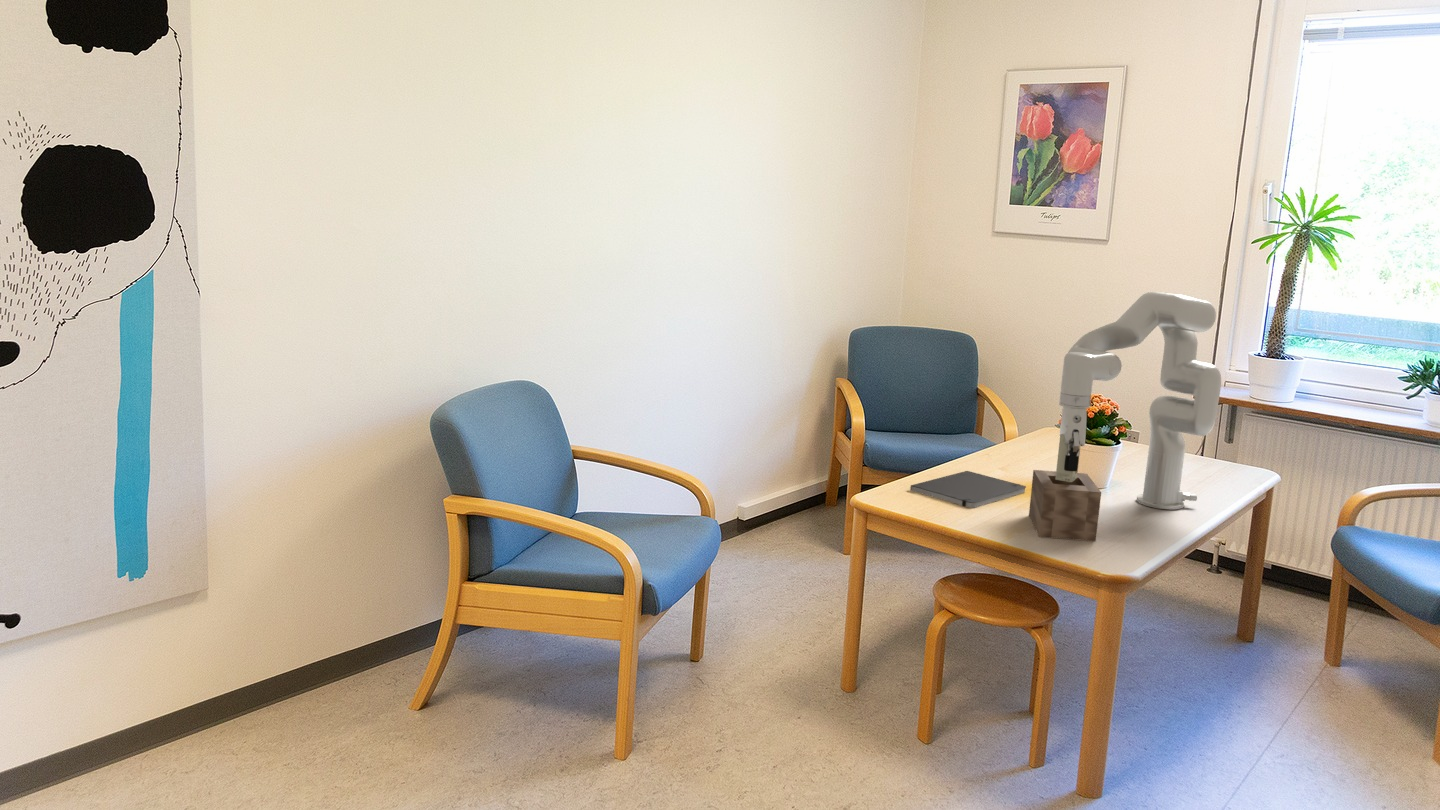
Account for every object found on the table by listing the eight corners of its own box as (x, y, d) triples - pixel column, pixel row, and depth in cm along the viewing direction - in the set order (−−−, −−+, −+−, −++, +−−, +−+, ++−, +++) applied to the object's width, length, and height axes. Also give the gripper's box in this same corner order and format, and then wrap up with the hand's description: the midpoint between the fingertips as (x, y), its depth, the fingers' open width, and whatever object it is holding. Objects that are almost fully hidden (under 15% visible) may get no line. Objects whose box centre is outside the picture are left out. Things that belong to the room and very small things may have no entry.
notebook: (966, 477, 320) (909, 492, 302) (966, 470, 320) (910, 484, 301) (1027, 493, 304) (972, 510, 286) (1028, 486, 304) (972, 502, 286)
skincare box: (1071, 483, 265) (1076, 437, 263) (1054, 480, 268) (1059, 434, 265) (1077, 477, 271) (1082, 432, 268) (1060, 475, 273) (1065, 430, 270)
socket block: (1081, 519, 280) (1086, 473, 277) (1095, 541, 262) (1101, 492, 260) (1028, 515, 282) (1033, 469, 279) (1039, 536, 264) (1044, 488, 261)
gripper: (1097, 408, 256) (1089, 476, 259) (1083, 395, 273) (1076, 459, 276) (1066, 406, 257) (1058, 474, 260) (1054, 393, 274) (1047, 457, 277)
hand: (1067, 466), depth 268 cm, fingers closed on skincare box, 7 cm apart
